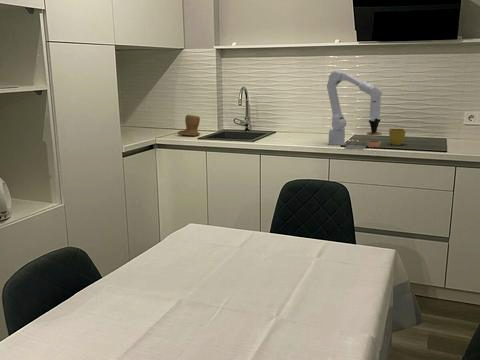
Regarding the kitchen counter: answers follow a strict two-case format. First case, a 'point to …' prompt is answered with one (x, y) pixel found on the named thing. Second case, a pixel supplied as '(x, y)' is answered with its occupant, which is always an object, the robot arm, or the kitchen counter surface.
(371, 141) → the bowl
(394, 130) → the flower pot
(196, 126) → the brown hat
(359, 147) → the mat
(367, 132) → the lid
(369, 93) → the robot arm
